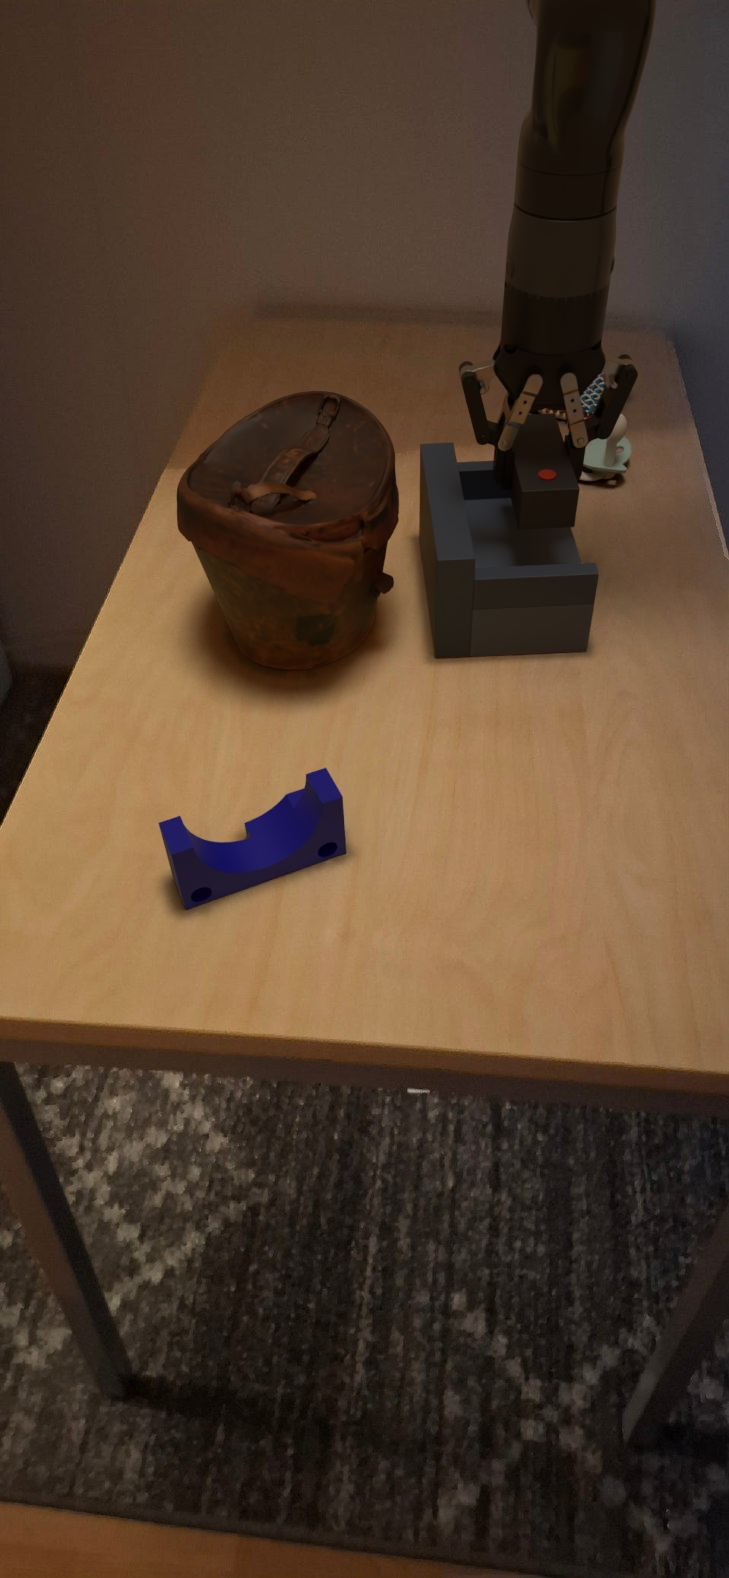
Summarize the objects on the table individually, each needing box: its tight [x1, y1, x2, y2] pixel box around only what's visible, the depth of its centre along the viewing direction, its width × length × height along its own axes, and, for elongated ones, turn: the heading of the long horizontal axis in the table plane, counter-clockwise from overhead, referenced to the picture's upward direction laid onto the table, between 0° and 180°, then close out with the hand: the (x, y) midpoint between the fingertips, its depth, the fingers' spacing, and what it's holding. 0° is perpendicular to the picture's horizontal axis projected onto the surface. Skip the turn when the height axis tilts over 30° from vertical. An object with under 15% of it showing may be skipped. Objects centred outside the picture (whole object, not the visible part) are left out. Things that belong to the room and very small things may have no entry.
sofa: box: [418, 442, 600, 659], centre depth 91 cm, size 13×18×10 cm
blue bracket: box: [158, 767, 347, 911], centre depth 72 cm, size 12×4×6 cm, turn 114°
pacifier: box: [579, 413, 632, 482], centre depth 106 cm, size 7×6×6 cm
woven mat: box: [537, 372, 605, 421], centre depth 118 cm, size 10×11×2 cm
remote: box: [509, 413, 580, 530], centre depth 86 cm, size 4×12×4 cm, turn 2°
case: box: [176, 390, 400, 670], centre depth 86 cm, size 18×20×18 cm
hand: (535, 483), depth 87 cm, fingers closed on remote, 4 cm apart
